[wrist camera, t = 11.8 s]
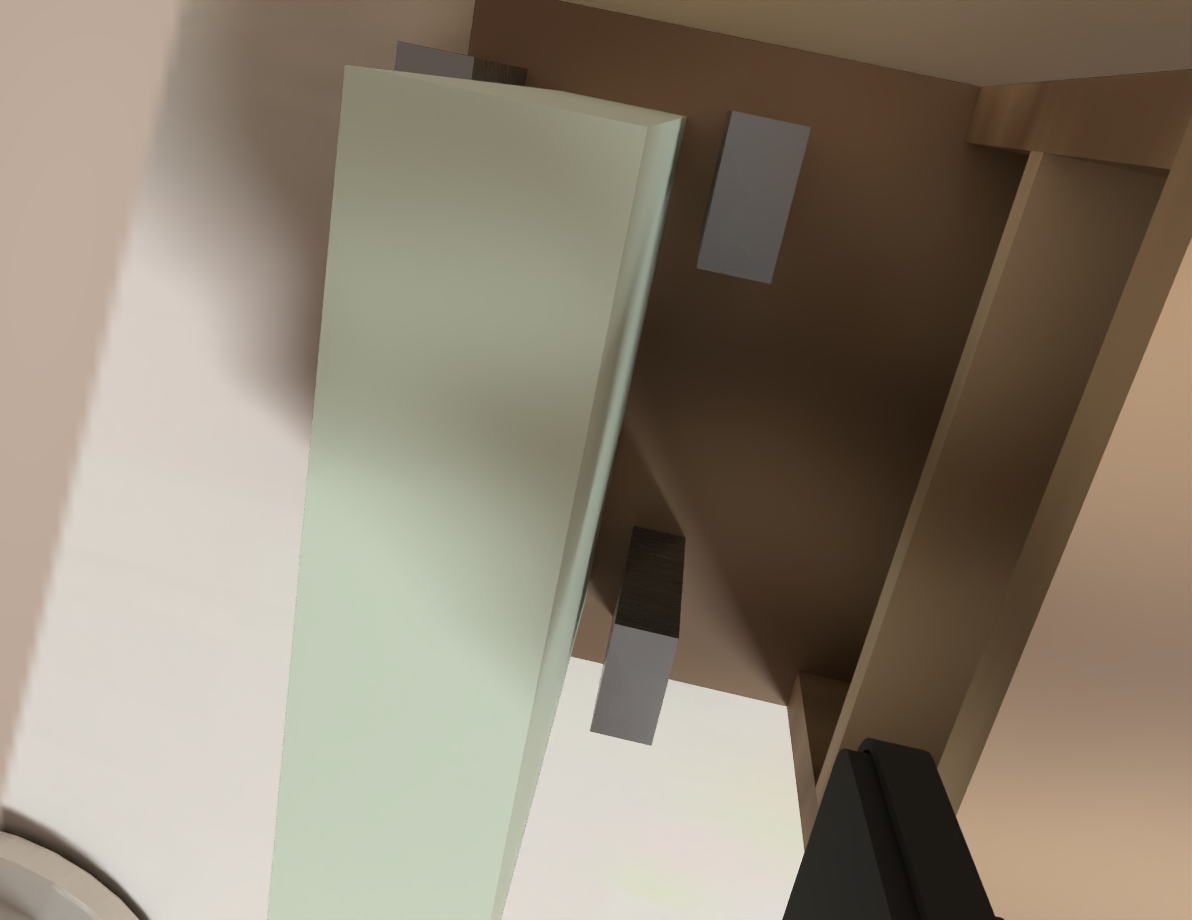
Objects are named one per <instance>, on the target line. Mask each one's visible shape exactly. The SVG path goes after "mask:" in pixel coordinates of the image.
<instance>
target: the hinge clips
mask: <svg viewBox="0 0 1192 920" xmlns="http://www.w3.org/2000/svg"><path fill="white" fill-rule="evenodd" d="M527 70H528V69H526V68H522V67H517V66H513V65H508V64H504V63H499V62H494V61H490V60H485V59H481V58H476V57H471V56H466V55H462V54H457V53H452V52H447V51H442V50H438V49H433V48H428V47H423V46H418V45H413V44H409V43H404V42H399V41H398V47H397V56H396V65H395V71H401V72H410V73H418V74H426V75H434V76H443V77H451V78H459V79H467V80H476V81H484V82H492V83H500V84H508V85H517V86H525V82H526V76H527ZM810 130H811V127H809V126H804V125H799V124H794V123H789V122H784V121H780V120H775V119H770V118H765V117H760V116H756V115H751V114H746V113H741V112H736V111H728V116H727V120H726V124H725V129H724V133H723V137H722V142H721V146H720V151H719V155H718V159H717V164H716V168H715V172H714V177H713V181H712V186H711V190H710V194H709V199H708V203H707V207H706V212H705V216H704V221H703V225H702V229H701V234H700V242H699V251H698V259H697V268H698V269H703V270H707V271H712V272H717V273H721V274H726V275H731V276H735V277H740V278H745V279H749V280H754V281H759V282H763V283H768V284H771V281H772V277H773V273H774V269H775V265H776V261H777V258H778V254H779V250H780V246H781V242H782V238H783V234H784V231H785V227H786V223H787V219H788V215H789V211H790V207H791V203H792V200H793V196H794V192H795V188H796V184H797V180H798V176H799V173H800V169H801V165H802V161H803V157H804V153H805V149H806V145H807V142H808V138H809V134H810ZM685 541H686V537H682V536H677V535H673V534H669V533H664V532H660V531H655V530H651V529H646V528H642V527H638V526H634V527H633V531H632V536H631V540H630V544H629V549H628V553H627V558H626V562H625V566H624V571H623V575H622V579H621V584H620V588H619V593H618V597H617V601H616V606H615V610H614V614H613V619H612V624H611V629H610V634H609V639H608V644H607V649H606V654H605V659H604V664H603V669H602V674H601V679H600V684H599V689H598V694H597V699H596V704H595V709H594V714H593V719H592V724H591V729H590V731H591V732H595V733H600V734H604V735H608V736H612V737H617V738H621V739H625V740H629V741H634V742H638V743H642V744H646V745H652V741H653V737H654V733H655V729H656V725H657V722H658V718H659V714H660V710H661V706H662V702H663V698H664V694H665V691H666V687H667V683H668V679H669V675H670V671H671V667H672V664H673V660H674V656H675V652H676V648H677V644H678V640H679V630H680V615H681V601H682V586H683V571H684V556H685Z"/></svg>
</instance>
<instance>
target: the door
mask: <svg viewBox="0 0 1192 920" xmlns="http://www.w3.org/2000/svg"><path fill="white" fill-rule="evenodd" d="M686 120H687V116H682V115H677V114H672V113H667V112H662V111H657V110H653V109H648V108H643V107H638V106H633V105H628V104H623V103H618V102H613V101H609V100H604V99H599V98H594V97H589V96H584V95H579V94H574V93H569V92H565V91H558V90H550V89H541V88H533V87H525V86H517V85H508V84H500V83H492V82H484V81H476V80H467V79H459V78H451V77H443V76H434V75H426V74H418V73H410V72H401V71H393V70H385V69H377V68H368V67H360V66H352V65H345V66H344V77H343V88H342V99H341V110H340V121H339V132H338V143H337V154H336V165H335V176H334V187H333V198H332V209H331V220H330V231H329V242H328V253H327V264H326V275H325V286H324V297H323V308H322V319H321V330H320V341H319V352H318V364H317V375H316V386H315V397H314V408H313V419H312V430H311V441H310V452H309V463H308V474H307V485H306V496H305V507H304V518H303V529H302V540H301V551H300V562H299V573H298V584H297V595H296V606H295V617H294V628H293V639H292V650H291V661H290V672H289V683H288V694H287V705H286V716H285V727H284V738H283V749H282V760H281V771H280V782H279V793H278V804H277V815H276V826H275V838H274V849H273V860H272V871H271V882H270V893H269V904H268V915H267V920H501V918H502V914H503V910H504V907H505V903H506V899H507V895H508V891H509V888H510V884H511V880H512V876H513V872H514V869H515V865H516V861H517V857H518V854H519V850H520V846H521V842H522V838H523V835H524V831H525V827H526V823H527V819H528V816H529V812H530V808H531V804H532V800H533V797H534V793H535V789H536V785H537V781H538V778H539V774H540V770H541V766H542V762H543V759H544V755H545V751H546V747H547V744H548V740H549V736H550V732H551V728H552V725H553V721H554V717H555V713H556V709H557V706H558V702H559V698H560V694H561V690H562V687H563V683H564V679H565V675H566V671H567V668H568V664H569V660H570V656H571V652H572V649H573V645H574V641H575V637H576V634H577V630H578V626H579V622H580V618H581V615H582V611H583V607H584V603H585V598H586V593H587V589H588V584H589V579H590V574H591V570H592V565H593V560H594V555H595V551H596V546H597V541H598V537H599V532H600V527H601V522H602V518H603V513H604V508H605V503H606V499H607V494H608V489H609V485H610V480H611V475H612V470H613V466H614V461H615V456H616V451H617V447H618V442H619V437H620V432H621V428H622V423H623V418H624V414H625V409H626V404H627V399H628V395H629V390H630V385H631V380H632V376H633V371H634V366H635V362H636V357H637V352H638V347H639V343H640V338H641V333H642V328H643V324H644V319H645V314H646V310H647V305H648V300H649V295H650V291H651V286H652V281H653V276H654V272H655V267H656V262H657V258H658V253H659V248H660V243H661V239H662V234H663V229H664V224H665V220H666V215H667V210H668V206H669V201H670V196H671V191H672V187H673V182H674V177H675V172H676V168H677V163H678V158H679V154H680V149H681V144H682V139H683V135H684V130H685V125H686Z"/></svg>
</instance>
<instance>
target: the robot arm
mask: <svg viewBox="0 0 1192 920" xmlns="http://www.w3.org/2000/svg"><path fill="white" fill-rule="evenodd" d="M0 920H139V919H138V918H137V916H136V915H135V914H134V913H133V912H132V911H131V910H130V909H129V908H128V907H127V905H126V904H125V903H124V902H123V901H122V900H121V899H120V898H119V897H118V896H117V895H115V894H114V893H113V892H112V891H110V890H109V889H108V888H107V887H106V886H104V885H103V884H102V883H101V882H99V881H98V880H97V879H96V878H95V877H93V876H92V875H91V874H90V873H88V872H86V871H85V870H83V869H82V868H80V867H78V866H77V865H75V864H73V863H72V862H70V861H69V860H67V859H65V858H64V857H62V856H60V855H59V854H57V853H56V852H53V851H51V850H49V849H47V848H44V847H42V846H40V845H38V844H35V843H33V842H31V841H29V840H26V839H24V838H22V837H19V836H17V835H13V834H10V833H6V832H3V831H0ZM782 920H1004V919H1003V918H1001V917H997V916H995V914H994V912H993V909H992V907H991V904H990V902H989V899H988V897H987V894H986V891H985V889H984V886H983V884H982V881H981V879H980V876H979V874H978V871H977V869H976V866H975V864H974V861H973V859H972V856H971V853H970V851H969V848H968V846H967V843H966V841H965V838H964V836H963V833H962V831H961V828H960V826H959V823H958V820H957V818H956V815H955V813H954V810H953V808H952V805H951V803H950V800H949V798H948V795H947V793H946V790H945V788H944V785H943V782H942V780H941V777H940V775H939V772H938V770H937V767H936V765H935V762H934V760H933V758H932V756H931V754H930V753H929V752H928V751H925V750H922V749H918V748H913V747H909V746H904V745H900V744H895V743H891V742H886V741H882V740H877V739H873V738H866V739H864V740H863V742H862V743H861V744H860V746H859V748H858V750H857V751H854V750H850V749H845V748H843V749H841V750H840V752H839V753H838V755H837V757H836V759H835V762H834V765H833V768H832V771H831V774H830V777H829V780H828V783H827V786H826V789H825V792H824V795H823V798H822V801H821V804H820V807H819V810H818V813H817V816H816V819H815V822H814V825H813V828H812V832H811V835H810V838H809V841H808V844H807V847H806V850H805V853H804V856H803V859H802V862H801V865H800V868H799V871H798V874H797V877H796V880H795V883H794V886H793V889H792V892H791V895H790V898H789V901H788V904H787V907H786V910H785V913H784V916H783V919H782Z"/></svg>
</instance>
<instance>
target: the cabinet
mask: <svg viewBox="0 0 1192 920" xmlns="http://www.w3.org/2000/svg"><path fill="white" fill-rule="evenodd" d="M468 56H471V57H476V58H481V59H485V60H490V61H494V62H499V63H504V64H508V65H513V66H517V67H522V68H526V69H528V70H527V76H526V82H525V87H533V88H541V89H550V90H558V91H565V92H569V93H574V94H579V95H584V96H589V97H594V98H599V99H604V100H609V101H613V102H618V103H623V104H628V105H633V106H638V107H643V108H648V109H653V110H657V111H662V112H667V113H672V114H677V115H682V116H687V120H686V125H685V130H684V135H683V139H682V144H681V149H680V154H679V158H678V163H677V168H676V172H675V177H674V182H673V187H672V191H671V196H670V201H669V206H668V210H667V215H666V220H665V224H664V229H663V234H662V239H661V243H660V248H659V253H658V258H657V262H656V267H655V272H654V276H653V281H652V286H651V291H650V295H649V300H648V305H647V310H646V314H645V319H644V324H643V328H642V333H641V338H640V343H639V347H638V352H637V357H636V362H635V366H634V371H633V376H632V380H631V385H630V390H629V395H628V399H627V404H626V409H625V414H624V418H623V423H622V428H621V432H620V437H619V442H618V447H617V451H616V456H615V461H614V466H613V470H612V475H611V480H610V485H609V489H608V494H607V499H606V503H605V508H604V513H603V518H602V522H601V527H600V532H599V537H598V541H597V546H596V551H595V555H594V560H593V565H592V570H591V574H590V579H589V584H588V589H587V593H586V598H585V603H584V607H583V611H582V615H581V618H580V622H579V626H578V630H577V634H576V637H575V641H574V645H573V649H572V652H571V656H572V657H576V658H581V659H585V660H589V661H593V662H598V663H602V664H604V659H605V654H606V649H607V644H608V639H609V634H610V629H611V624H612V619H613V614H614V610H615V606H616V601H617V597H618V593H619V588H620V584H621V579H622V575H623V571H624V566H625V562H626V558H627V553H628V549H629V544H630V540H631V536H632V531H633V527H634V526H638V527H642V528H646V529H651V530H655V531H660V532H664V533H669V534H673V535H677V536H682V537H686V541H685V556H684V571H683V586H682V601H681V615H680V630H679V640H678V644H677V648H676V652H675V656H674V660H673V664H672V667H671V671H670V675H669V679H671V680H675V681H680V682H684V683H688V684H693V685H697V686H701V687H705V688H710V689H714V690H718V691H723V692H727V693H731V694H736V695H740V696H744V697H749V698H753V699H757V700H762V701H766V702H770V703H774V704H779V705H783V706H787V710H788V719H789V727H790V735H791V743H792V751H793V760H794V768H795V776H796V784H797V793H798V801H799V809H800V817H801V826H802V834H803V842H804V850H806V847H807V844H808V841H809V838H810V835H811V832H812V828H813V825H814V822H815V819H816V816H817V813H818V810H819V807H820V804H821V801H822V798H823V795H824V792H825V789H826V786H827V783H828V780H829V777H830V774H831V771H832V768H833V765H834V762H835V759H836V757H837V755H838V753H839V752H840V750H841V749H843V748H845V749H850V750H854V751H857V750H858V748H859V746H860V744H861V743H862V742H863V740H864V739H866V738H873V739H877V740H882V741H886V742H891V743H895V744H900V745H904V746H909V747H913V748H918V749H922V750H925V751H928V752H929V753H930V754H931V756H932V758H933V760H934V762H935V765H936V767H937V770H938V772H939V775H940V777H941V780H942V782H943V785H944V788H945V790H946V793H947V795H948V798H949V800H950V803H951V805H952V808H953V810H954V813H955V815H956V818H957V820H958V823H959V826H960V828H961V831H962V833H963V836H964V838H965V841H966V843H967V846H968V848H969V851H970V853H971V856H972V859H973V861H974V864H975V866H976V869H977V871H978V874H979V876H980V879H981V881H982V884H983V886H984V889H985V891H986V894H987V897H988V899H989V902H990V904H991V907H992V909H993V912H994V914H995V916H997V917H1001V918H1003V919H1004V920H1192V69H1188V70H1176V71H1164V72H1152V73H1140V74H1129V75H1117V76H1105V77H1093V78H1081V79H1069V80H1058V81H1046V82H1034V83H1022V84H1010V85H999V86H987V87H979V86H974V85H969V84H964V83H960V82H955V81H950V80H945V79H940V78H935V77H930V76H925V75H920V74H916V73H911V72H906V71H901V70H896V69H891V68H886V67H881V66H876V65H871V64H867V63H862V62H857V61H852V60H847V59H842V58H837V57H832V56H827V55H823V54H818V53H813V52H808V51H803V50H798V49H793V48H788V47H783V46H779V45H774V44H769V43H764V42H759V41H754V40H749V39H744V38H739V37H734V36H730V35H725V34H720V33H715V32H710V31H705V30H700V29H695V28H690V27H686V26H681V25H676V24H671V23H666V22H661V21H656V20H651V19H646V18H642V17H637V16H632V15H627V14H622V13H617V12H612V11H607V10H602V9H597V8H593V7H588V6H583V5H578V4H573V3H568V2H563V1H558V0H476V1H475V8H474V16H473V23H472V30H471V38H470V45H469V53H468ZM728 111H736V112H741V113H746V114H751V115H756V116H760V117H765V118H770V119H775V120H780V121H784V122H789V123H794V124H799V125H804V126H809V127H811V130H810V134H809V138H808V142H807V145H806V149H805V153H804V157H803V161H802V165H801V169H800V173H799V176H798V180H797V184H796V188H795V192H794V196H793V200H792V203H791V207H790V211H789V215H788V219H787V223H786V227H785V231H784V234H783V238H782V242H781V246H780V250H779V254H778V258H777V261H776V265H775V269H774V273H773V277H772V281H771V284H768V283H763V282H759V281H754V280H749V279H745V278H740V277H735V276H731V275H726V274H721V273H717V272H712V271H707V270H703V269H698V268H697V259H698V251H699V242H700V234H701V229H702V225H703V221H704V216H705V212H706V207H707V203H708V199H709V194H710V190H711V186H712V181H713V177H714V172H715V168H716V164H717V159H718V155H719V151H720V146H721V142H722V137H723V133H724V129H725V124H726V120H727V116H728Z"/></svg>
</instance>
